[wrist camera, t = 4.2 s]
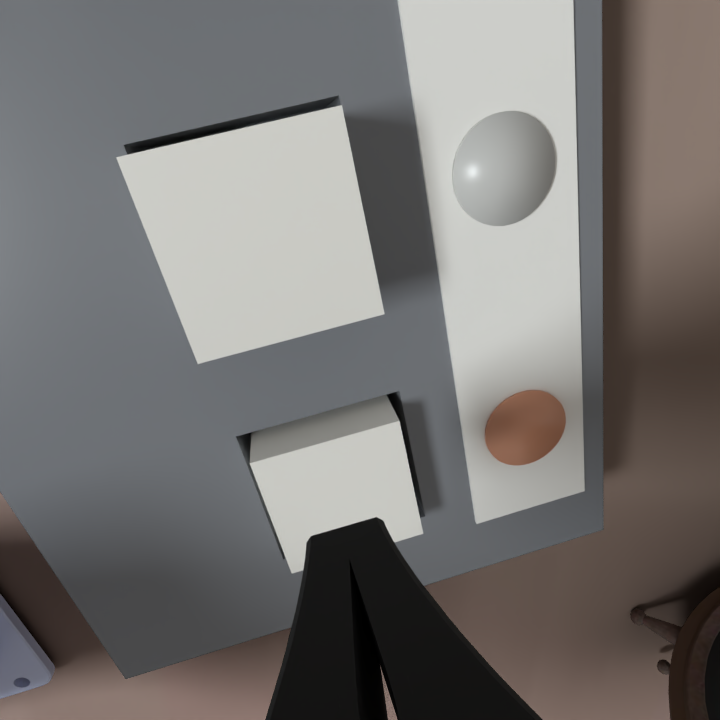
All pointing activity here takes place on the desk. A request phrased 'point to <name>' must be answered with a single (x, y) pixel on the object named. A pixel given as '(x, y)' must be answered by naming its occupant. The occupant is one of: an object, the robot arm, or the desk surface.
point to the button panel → (314, 351)
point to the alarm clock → (691, 660)
